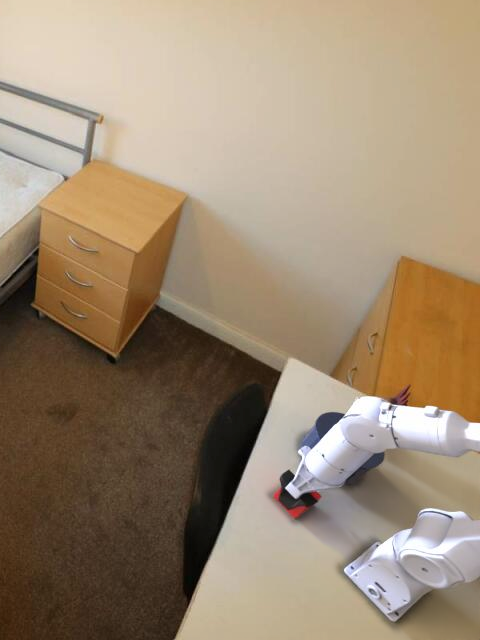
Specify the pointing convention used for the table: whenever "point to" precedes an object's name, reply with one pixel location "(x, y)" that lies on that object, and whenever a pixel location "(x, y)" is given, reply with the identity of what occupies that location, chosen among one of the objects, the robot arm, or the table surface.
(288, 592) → the table surface
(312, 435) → the pot
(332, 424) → the pot lid
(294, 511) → the block
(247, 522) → the table surface
